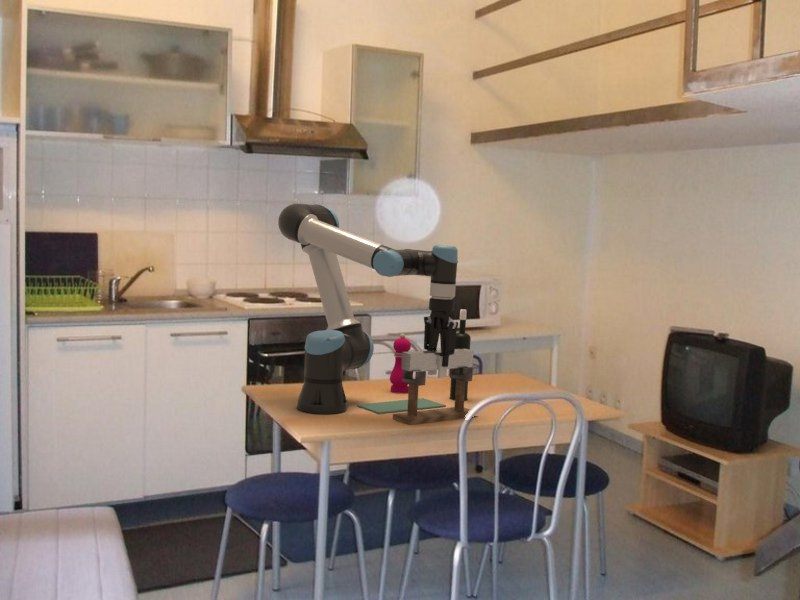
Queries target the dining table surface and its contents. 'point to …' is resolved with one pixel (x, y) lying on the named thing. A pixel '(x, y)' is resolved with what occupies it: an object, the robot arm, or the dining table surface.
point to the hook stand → (436, 414)
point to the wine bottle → (461, 343)
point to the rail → (435, 360)
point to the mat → (398, 406)
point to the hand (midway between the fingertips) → (437, 375)
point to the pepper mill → (399, 365)
